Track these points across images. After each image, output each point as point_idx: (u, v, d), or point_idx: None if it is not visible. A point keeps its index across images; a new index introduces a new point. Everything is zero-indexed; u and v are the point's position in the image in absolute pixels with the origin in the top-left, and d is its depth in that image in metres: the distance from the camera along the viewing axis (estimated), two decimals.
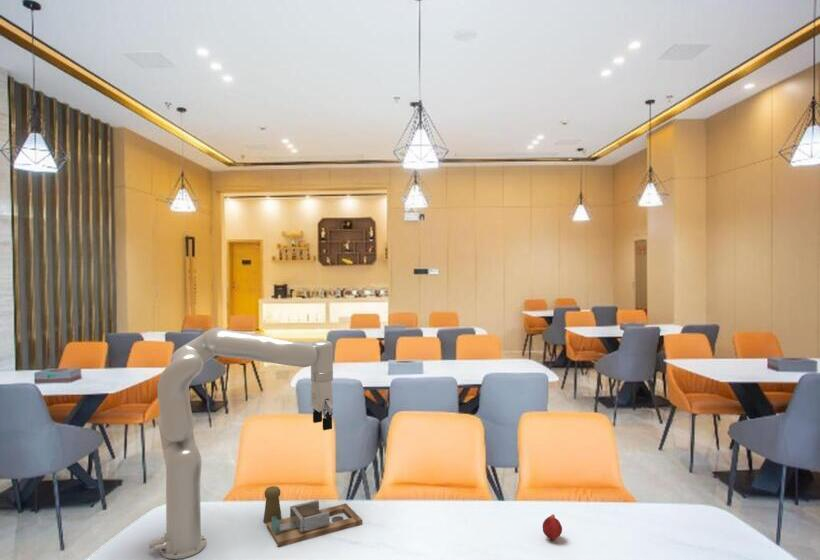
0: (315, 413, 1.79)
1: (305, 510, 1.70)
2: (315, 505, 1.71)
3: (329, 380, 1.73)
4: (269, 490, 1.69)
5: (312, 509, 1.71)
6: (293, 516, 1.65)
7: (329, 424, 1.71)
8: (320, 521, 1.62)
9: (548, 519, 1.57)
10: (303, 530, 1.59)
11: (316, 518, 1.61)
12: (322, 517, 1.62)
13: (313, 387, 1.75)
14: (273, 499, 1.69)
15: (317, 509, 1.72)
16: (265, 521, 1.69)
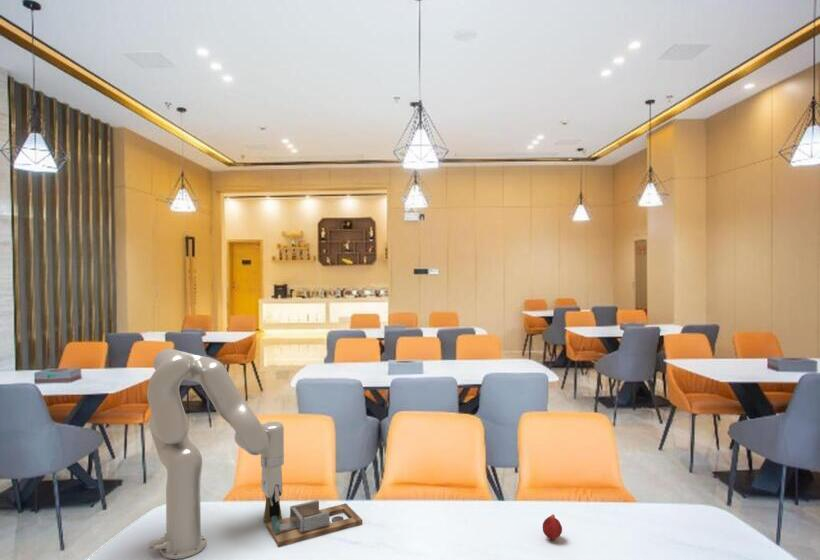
0: None
1: (305, 510, 1.70)
2: (315, 505, 1.71)
3: (279, 464, 1.68)
4: None
5: (312, 509, 1.71)
6: (293, 516, 1.65)
7: (276, 511, 1.68)
8: (320, 521, 1.62)
9: (548, 519, 1.57)
10: (303, 530, 1.59)
11: (316, 518, 1.61)
12: (322, 517, 1.62)
13: (263, 471, 1.70)
14: (273, 499, 1.69)
15: (317, 509, 1.72)
16: (265, 521, 1.69)
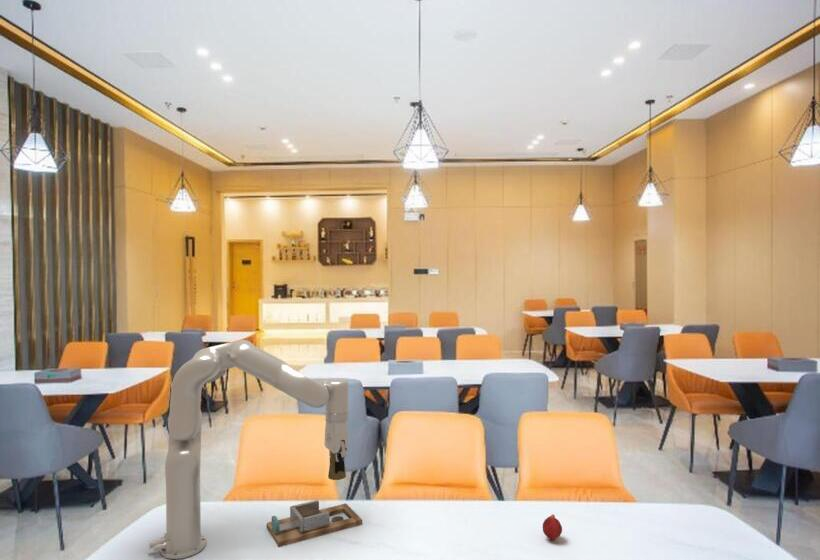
0: None
1: (305, 510, 1.70)
2: (315, 505, 1.71)
3: (344, 420, 1.68)
4: None
5: (312, 509, 1.71)
6: (293, 516, 1.65)
7: (341, 467, 1.68)
8: (320, 521, 1.62)
9: (548, 519, 1.57)
10: (303, 530, 1.59)
11: (316, 518, 1.61)
12: (322, 517, 1.62)
13: (328, 427, 1.70)
14: (338, 455, 1.69)
15: (317, 509, 1.72)
16: (330, 477, 1.68)
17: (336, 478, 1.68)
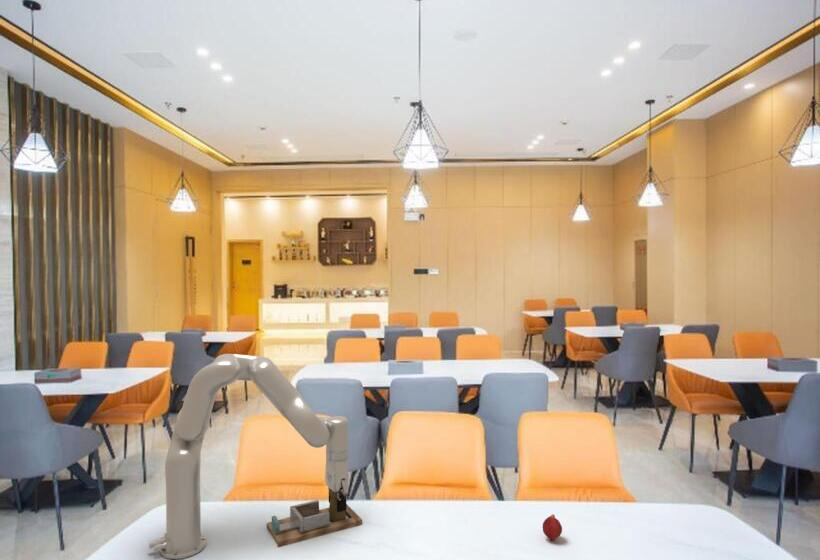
0: None
1: (305, 510, 1.70)
2: (315, 505, 1.71)
3: (345, 459, 1.68)
4: None
5: (312, 509, 1.71)
6: (293, 516, 1.65)
7: (343, 506, 1.67)
8: (320, 521, 1.62)
9: (548, 519, 1.57)
10: (303, 530, 1.59)
11: (316, 518, 1.61)
12: (322, 517, 1.62)
13: (328, 465, 1.70)
14: None
15: (317, 509, 1.72)
16: (330, 520, 1.69)
17: (335, 521, 1.68)
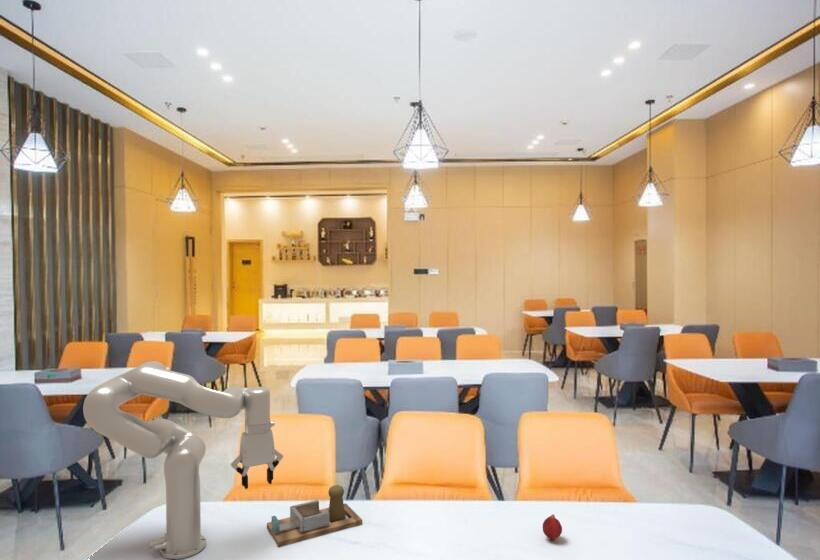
0: (267, 471, 1.60)
1: (305, 510, 1.70)
2: (315, 505, 1.71)
3: (247, 433, 1.54)
4: (333, 489, 1.69)
5: (312, 509, 1.71)
6: (293, 516, 1.65)
7: (242, 482, 1.55)
8: (320, 521, 1.62)
9: (548, 519, 1.57)
10: (303, 530, 1.59)
11: (316, 518, 1.61)
12: (322, 517, 1.62)
13: None
14: (337, 498, 1.69)
15: (317, 509, 1.72)
16: (330, 520, 1.69)
17: (335, 521, 1.68)
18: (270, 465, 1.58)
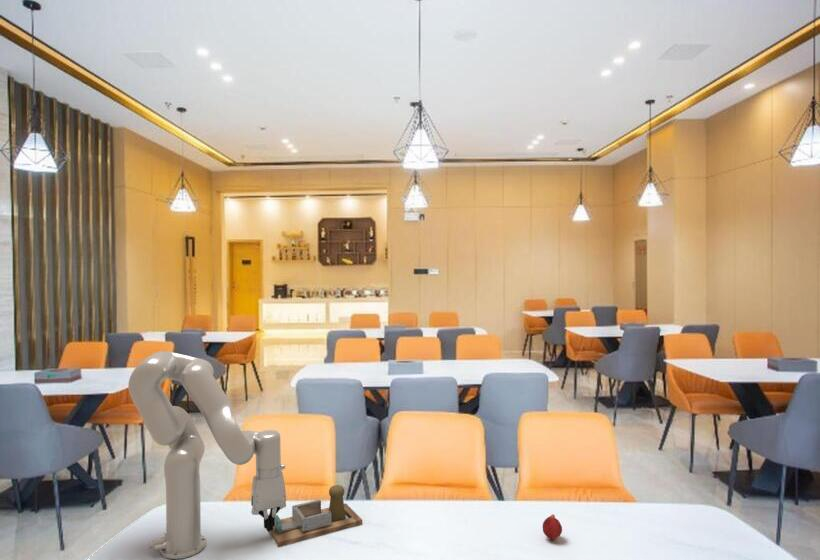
0: None
1: (307, 510, 1.70)
2: (317, 504, 1.72)
3: (258, 477, 1.56)
4: (333, 489, 1.69)
5: (314, 509, 1.71)
6: (295, 515, 1.65)
7: (264, 525, 1.58)
8: (322, 520, 1.62)
9: (548, 519, 1.57)
10: (306, 529, 1.60)
11: (318, 517, 1.62)
12: (324, 516, 1.63)
13: None
14: (338, 498, 1.69)
15: (319, 509, 1.72)
16: None
17: (335, 521, 1.68)
18: (274, 511, 1.59)
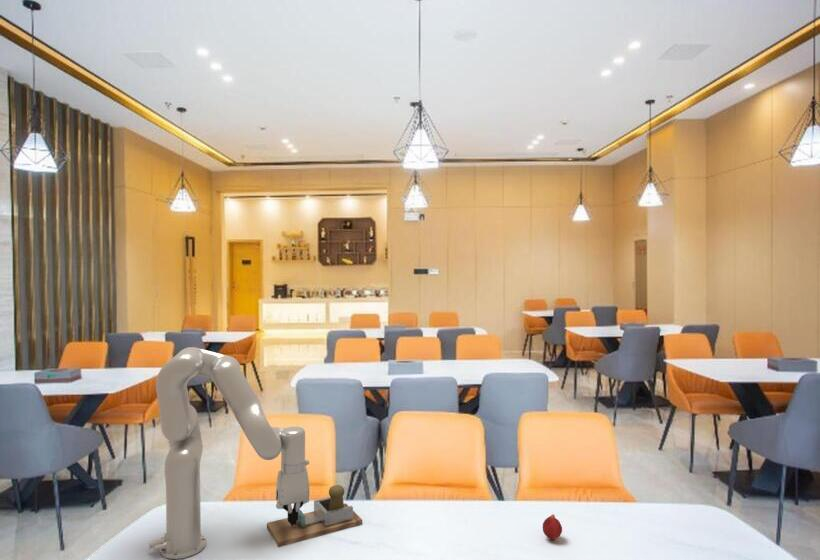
0: None
1: (328, 504, 1.74)
2: None
3: (283, 472, 1.60)
4: (333, 489, 1.69)
5: None
6: (317, 510, 1.69)
7: (288, 519, 1.62)
8: (344, 515, 1.66)
9: (548, 519, 1.57)
10: (328, 523, 1.63)
11: (340, 512, 1.65)
12: (346, 511, 1.66)
13: None
14: (338, 498, 1.69)
15: None
16: None
17: None
18: (298, 505, 1.62)
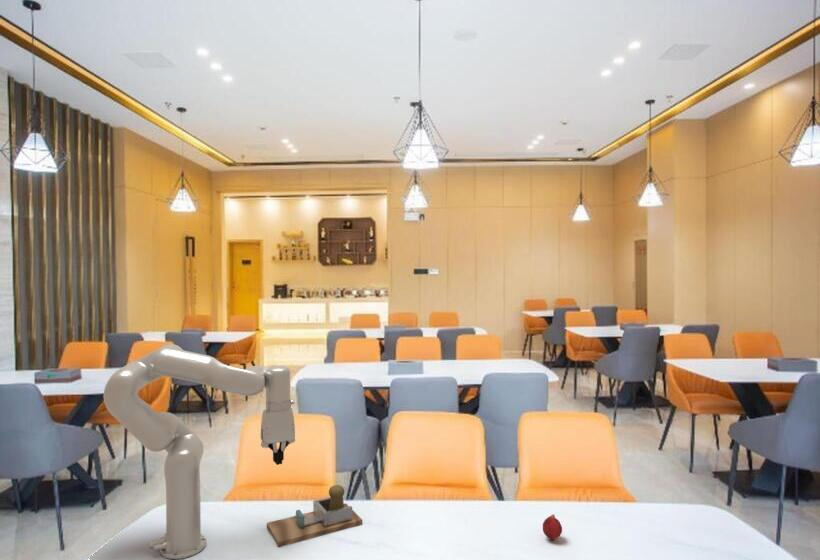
0: (277, 451, 1.61)
1: (328, 505, 1.74)
2: None
3: (268, 410, 1.57)
4: (333, 489, 1.69)
5: None
6: (317, 510, 1.69)
7: (274, 458, 1.59)
8: (343, 515, 1.66)
9: (548, 519, 1.57)
10: (327, 523, 1.63)
11: (339, 512, 1.65)
12: (345, 511, 1.66)
13: None
14: (338, 498, 1.69)
15: None
16: None
17: None
18: (283, 444, 1.60)
